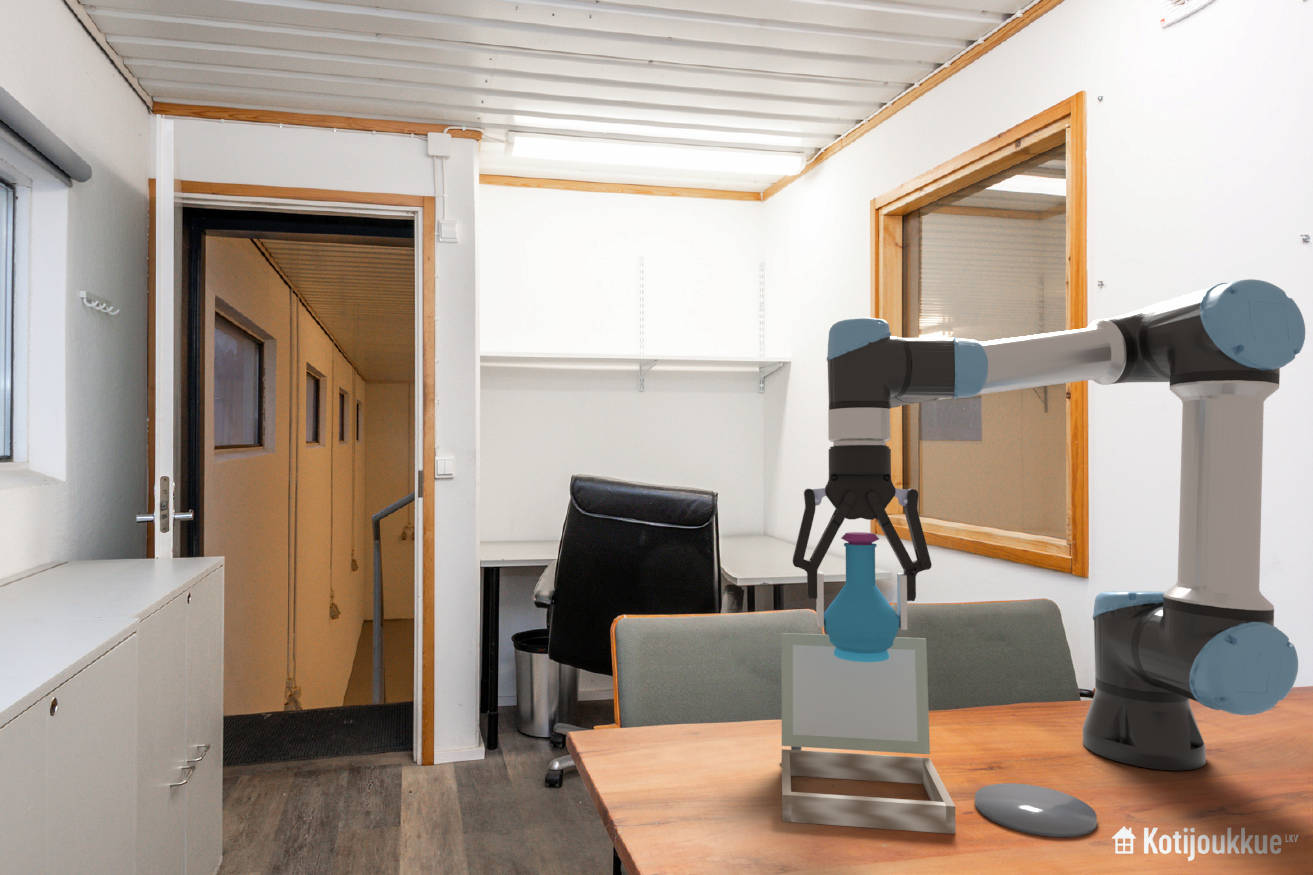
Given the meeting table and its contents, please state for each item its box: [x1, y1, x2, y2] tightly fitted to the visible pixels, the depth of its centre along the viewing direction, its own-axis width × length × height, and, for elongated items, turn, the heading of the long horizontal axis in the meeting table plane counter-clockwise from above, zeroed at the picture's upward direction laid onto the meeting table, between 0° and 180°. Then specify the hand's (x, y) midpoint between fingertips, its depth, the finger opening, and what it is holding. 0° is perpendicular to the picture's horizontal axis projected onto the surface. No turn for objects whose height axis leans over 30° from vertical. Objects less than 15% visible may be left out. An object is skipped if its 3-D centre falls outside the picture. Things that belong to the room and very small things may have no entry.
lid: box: [781, 632, 931, 755], centre depth 105 cm, size 19×15×1 cm
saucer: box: [974, 782, 1098, 838], centre depth 94 cm, size 13×13×1 cm
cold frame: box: [781, 748, 957, 835], centre depth 97 cm, size 19×15×3 cm
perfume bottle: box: [824, 531, 900, 662], centre depth 98 cm, size 9×9×15 cm
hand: (861, 626), depth 97 cm, fingers closed on perfume bottle, 9 cm apart
